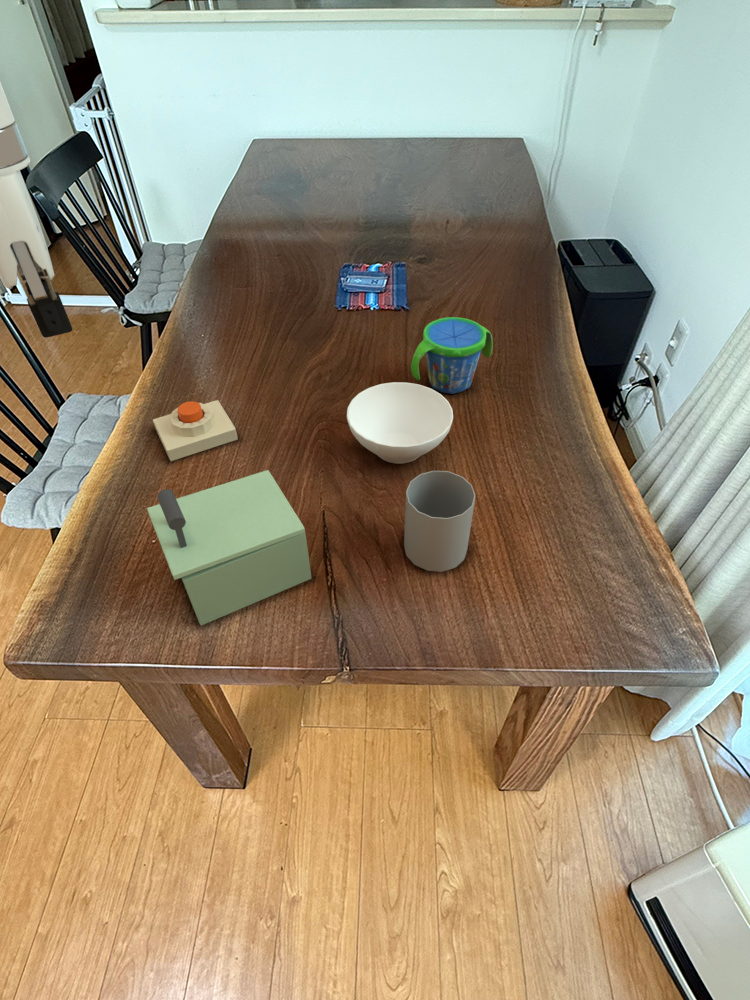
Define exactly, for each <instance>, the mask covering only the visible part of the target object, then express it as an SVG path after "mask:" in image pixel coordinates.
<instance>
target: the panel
mask: <svg viewBox="0 0 750 1000" xmlns="http://www.w3.org/2000/svg"><path fill="white" fill-rule="evenodd" d="M198 403H199V404H200V405H201V408H202V412H203V418H202V419H200V420H199V421H197V422H194V423H183V422H182V421H181V420H180V417H179V414H178V407H176V408H175V409H174V410H172V411H171V413H169V414H165V415H162V416H160V417H155V418H153V419H152V422H153V425H154V428H155V431H156V433H157V435H158V438H159V441H160V442H161V444H162V447H163V448H164V451H165V453H166V455H167V456H168V459H169V462H173V461H177V460H180V459H183V458H186V457H188V456H191V455H194V454H198V453H200V452H204V451H207V450H210V449H213V448H216V447H219V446H222V445H225V444H229V443H231V442H234V441H238V440H239V438H238V433H237V428H236V427H235V425H234V423H233V422H232V420H231V419H230V417H229V416H228V414H227V412H226V410H225V409H224V407H223V406H222V404H221V402H220V401H219V400H218V399H216V400H213V401H210V402H207V403H202V402H198Z"/></svg>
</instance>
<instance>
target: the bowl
mask: <svg viewBox="0 0 750 1000" xmlns="http://www.w3.org/2000/svg"><path fill="white" fill-rule="evenodd" d="M453 411H454V410H453V407H452V405H451V404H450V401H449V400H447V398H446V397H444V396H443V395H442V394H441V393H439V392H438V391H437V390H435V389H434V388H430V387H428V386H425V385H421V384H418V383H412V382H407V381H406V382H402V381H401V382H400V381H399V382H398V381H397V382H396V381H394V382H386V383H380V384H377V385H374V386H370V387H368V388H365V389H364V390H363V391H360V392H359V393H358V394H357V395H356V396H354V397H353V398H352V399H351V400H350V403H349V405H348V406H347V409H346V420H347V423H348V427H349V430H350V432H351V434H352V435H353V437H354V438H355V439H356V440H357V442H358V443H359V444H360V445H361V446H362V447H364V448H365V449H367V450H368V451H369V452H371V453H372V454H375V455H376V456H377V457H379V458H380V459H381V460H383V461H385V462H387V463H392V464H398V465H400V464H401V465H402V464H407V463H411V462H414V461H416V460H417V459H419V458H420V457H422V456H423V455H426V454H427V453H429V452H431V451H432V450H434V449H435V448H437V447H438V446H439V445H440V444H441V443H442V442H443V441H444V440H445V438H447V436H448V434H449V433H450V430H451V427H452V424H453V421H454V412H453Z"/></svg>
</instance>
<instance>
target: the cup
mask: <svg viewBox="0 0 750 1000" xmlns="http://www.w3.org/2000/svg"><path fill="white" fill-rule="evenodd" d="M476 497H477V495H476V493H475V489H474V487H473V484H471V483H470V482H469V481H468V480H467V479H466V478H465V477H464V476H462V475H459V474H457V473H454V472H451V471H447V470H431V471H427V472H422V473H420V474H418V475H417V476H416V477H414V478H413V479H412V480H410V481H409V484H408V486H407V488H406V490H405V508H404V509H405V511H404V514H405V515H404V535H403V538H404V539H403V546H404V547H403V548H404V552H405V555H406V557H407V558H408V559H409V561H410V562H412V564H413V565H414V566H416V567H418V568H421V569H423V570H425V571H427V572H441V573H442V572H443V573H444V572H446V571H449V570H453V569H455V568H457V567H458V566H459V565H460V564H461V563H462V562H463V561H464V560H465V559H466V555H467V552H468V547H469V541H470V533H471V527H472V521H473V515H474V509H475V503H476Z"/></svg>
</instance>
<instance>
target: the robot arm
mask: <svg viewBox="0 0 750 1000" xmlns="http://www.w3.org/2000/svg"><path fill="white" fill-rule="evenodd" d="M30 164H31V158H30V156H29V153H28V151H27V148H26V145H25V143H24V139H23V137H22V134H21V132H20V130H19V127H18V124H17V121H16V119H15V117H14V114H13V111H12V109H11V106H10V103H9V101H8V98H7V95H6V92H5V90H4V88H3V85H2V82H1V81H0V280H1V283H2V285H3V287H5V288H6V289H8V290H11V289H13V287H14V286H18V281H19V285H21V287H22V289H23V291H24V294H25V296H26V302H27V305H28V308H29V310H30V312H31V315H32V316H33V319H34V320H35V324H36V325H37V328H38V330H39V332H40V334H41V336H42V337H43V338H46V339H47V338H51V337H56V336H60V335H64V334H67V333H71V332H72V331H73V326H72V324H71V321H70V319H69V317H68V314H67V311H66V309H65V306H64V304H63V301H62V299H61V297H60V294H59V292H58V291H55V288H54V285H53V283H52V280H53V279H54V277H55V276H56V274H55V271H54V266H53V263H52V259H51V256H50V252H49V249H48V245H47V242H46V238H45V236H44V232H43V229H42V225H41V223H40V221H39V217H38V214H37V211H36V209H35V207H34V204H33V201H32V199H31V195H30V194H29V191H28V188H27V186H26V183H25V180H24V178H23V175H22V173H21V170H23V169H25V168H27V167H28V166H29V165H30Z"/></svg>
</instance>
